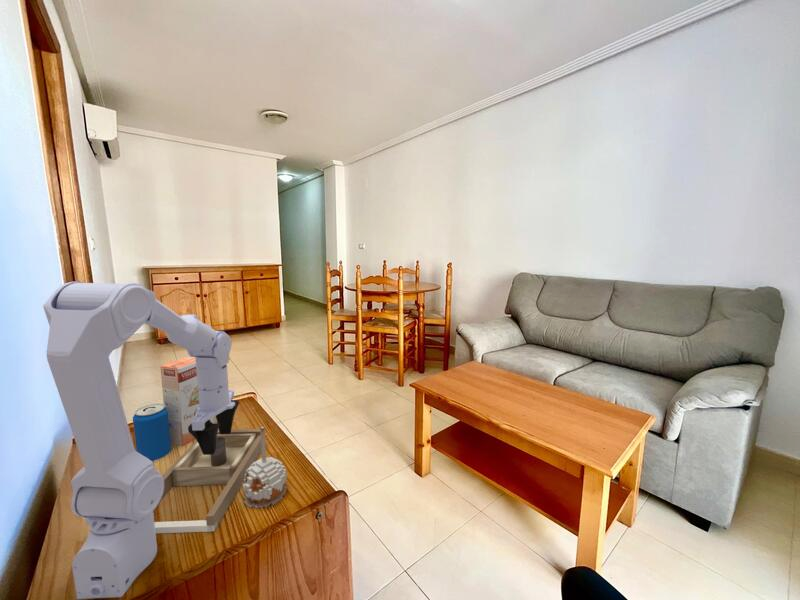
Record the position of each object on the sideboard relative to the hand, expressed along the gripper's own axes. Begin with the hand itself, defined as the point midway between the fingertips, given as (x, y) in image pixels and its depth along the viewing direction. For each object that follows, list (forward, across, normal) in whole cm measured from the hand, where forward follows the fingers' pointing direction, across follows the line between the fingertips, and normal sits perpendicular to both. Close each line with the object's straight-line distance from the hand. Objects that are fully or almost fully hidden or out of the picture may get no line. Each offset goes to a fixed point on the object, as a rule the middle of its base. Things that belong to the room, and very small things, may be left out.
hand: (217, 443), depth 74 cm
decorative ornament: (+6, -9, -13) cm, 17 cm away
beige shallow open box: (+5, 0, 0) cm, 5 cm away
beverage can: (+6, +5, +17) cm, 19 cm away
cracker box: (+6, +15, +12) cm, 20 cm away
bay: (+6, -5, 0) cm, 8 cm away
